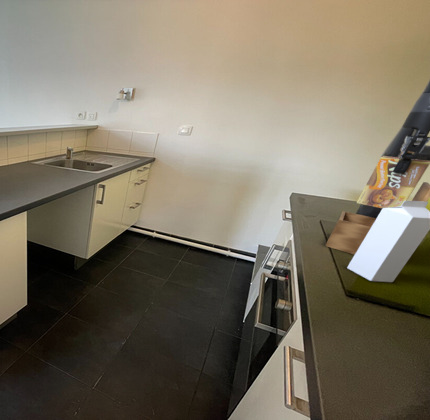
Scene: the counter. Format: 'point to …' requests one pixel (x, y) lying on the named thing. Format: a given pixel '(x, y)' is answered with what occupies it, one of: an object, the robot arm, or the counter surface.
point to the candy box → (391, 183)
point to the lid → (423, 193)
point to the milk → (391, 241)
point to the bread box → (349, 232)
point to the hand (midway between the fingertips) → (397, 171)
